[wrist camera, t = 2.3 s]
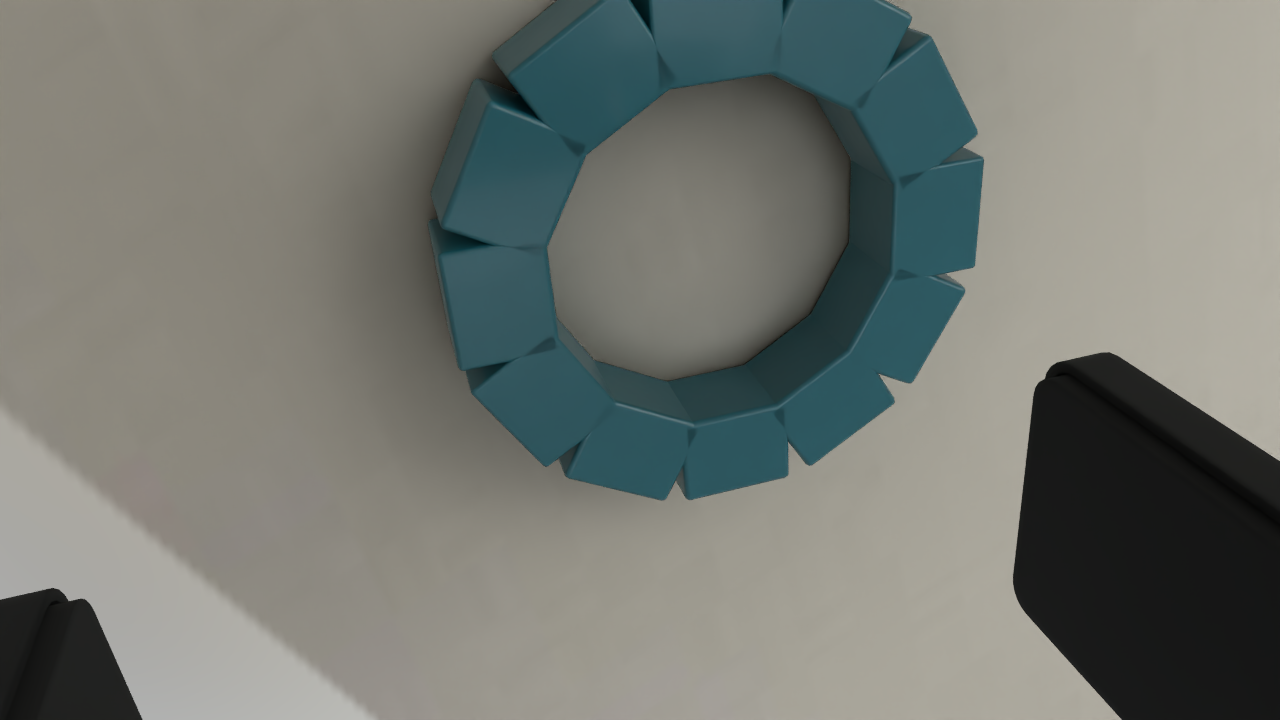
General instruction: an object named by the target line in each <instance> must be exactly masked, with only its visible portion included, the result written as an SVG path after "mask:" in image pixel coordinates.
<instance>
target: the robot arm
mask: <svg viewBox="0 0 1280 720" xmlns="http://www.w3.org/2000/svg"><path fill="white" fill-rule="evenodd" d="M1013 585H1014V590H1015V594H1016V597H1017V600H1018V602H1019V604H1020V605H1021V607H1022V609H1023V610H1024V611H1025V613H1026V614H1027V615H1028V616H1029V617H1030V619H1031V620H1032V621H1033V622H1034V623H1035V624H1036V625H1037V626H1038V627H1039V629H1040V630H1041V631H1042V632H1043V633H1044V634H1045V635H1046V636H1047V637H1048V638H1049V640H1050V641H1051V642H1052V643H1053V644H1054V645H1055V646H1056V647H1057V648H1058V650H1059V651H1060V652H1061V653H1062V654H1063V655H1064V656H1065V657H1066V658H1067V659H1068V661H1069V662H1070V663H1071V664H1072V665H1073V666H1074V667H1075V668H1076V669H1077V671H1078V672H1079V673H1080V674H1081V675H1082V676H1083V677H1084V678H1085V679H1086V681H1087V682H1088V683H1089V684H1090V685H1091V686H1092V687H1093V688H1094V689H1095V690H1096V692H1097V693H1098V694H1099V695H1100V696H1101V697H1102V698H1103V699H1104V700H1105V702H1106V703H1107V704H1108V705H1109V706H1110V707H1111V708H1112V709H1113V710H1114V711H1115V713H1116V714H1117V715H1118V716H1119V717H1120V718H1121V719H1122V720H1280V461H1279V460H1277V459H1276V458H1274V457H1272V456H1271V455H1269V454H1268V453H1266V452H1265V451H1263V450H1262V449H1260V448H1259V447H1257V446H1256V445H1254V444H1252V443H1251V442H1249V441H1248V440H1246V439H1245V438H1243V437H1242V436H1240V435H1239V434H1237V433H1236V432H1234V431H1232V430H1231V429H1229V428H1228V427H1226V426H1225V425H1223V424H1222V423H1220V422H1219V421H1217V420H1216V419H1214V418H1212V417H1211V416H1209V415H1208V414H1206V413H1205V412H1203V411H1202V410H1200V409H1199V408H1197V407H1196V406H1194V405H1192V404H1191V403H1189V402H1188V401H1186V400H1185V399H1183V398H1182V397H1180V396H1179V395H1177V394H1176V393H1174V392H1172V391H1171V390H1169V389H1168V388H1166V387H1165V386H1163V385H1162V384H1160V383H1159V382H1157V381H1156V380H1154V379H1152V378H1151V377H1149V376H1148V375H1146V374H1145V373H1143V372H1142V371H1140V370H1139V369H1137V368H1136V367H1134V366H1132V365H1131V364H1129V363H1128V362H1126V361H1125V360H1123V359H1122V358H1120V357H1119V356H1117V355H1114V354H1112V353H1110V352H1108V353H1098V354H1093V355H1089V356H1084V357H1080V358H1075V359H1071V360H1066V361H1062V362H1058V363H1056V364H1054V365H1052V366H1051V367H1050V369H1049V370H1048V372H1047V373H1046V377H1045V379H1044V380H1042V381H1040V382H1039V383H1038V385H1037V386H1036V388H1035V392H1034V396H1033V405H1032V414H1031V423H1030V432H1029V441H1028V449H1027V458H1026V467H1025V476H1024V485H1023V494H1022V503H1021V511H1020V520H1019V529H1018V538H1017V547H1016V556H1015V564H1014V573H1013ZM0 720H142V718H141V715H140V713H139V711H138V709H137V706H136V704H135V702H134V700H133V698H132V695H131V693H130V691H129V688H128V686H127V684H126V682H125V680H124V677H123V675H122V673H121V671H120V668H119V666H118V664H117V662H116V659H115V657H114V655H113V653H112V650H111V648H110V646H109V644H108V641H107V639H106V637H105V635H104V632H103V630H102V628H101V626H100V623H99V621H98V619H97V617H96V614H95V612H94V610H93V608H92V607H91V605H90V604H89V603H88V602H87V601H86V600H85V599H78V600H73V601H68V599H67V598H66V596H65V595H64V594H63V593H62V592H61V591H60V590H58V589H54V588H51V589H46V590H42V591H38V592H33V593H28V594H24V595H19V596H15V597H11V598H6V599H2V600H0Z"/></svg>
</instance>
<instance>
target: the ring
mask: <svg viewBox="0 0 1280 720" xmlns="http://www.w3.org/2000/svg"><path fill="white" fill-rule="evenodd" d="M911 19H912V17H911V16H910V14H909V13H908V12H906V11H904V10H902V9H901V8H899V7H897V6H895V5H893V4H891V3H889V2H887V1H885V0H557V1H556V2H555V3H553V4H552V5H551V6H550V7H549V8H547V9H546V10H545V11H544V12H542V13H541V14H540V15H539V16H537V17H536V18H535V19H534V20H532V21H531V22H530V23H529V24H527V25H526V26H525V27H524V28H523V29H521V30H520V31H519V32H518V33H516V34H515V35H514V36H513V37H511V38H510V39H509V40H508V41H506V42H505V43H504V44H503V45H501V46H500V47H499V48H498V49H497V50H495V51H494V53H493V54H492V57H493V60H494V61H495V63H496V64H497V65H498V67H499V68H500V69H501V71H502V72H503V73H504V75H505V76H506V77H507V79H508V80H509V81H510V83H511V84H512V85H513V86H514V88H515V89H516V90H517V92H518V93H519V94H520V95H519V94H517V93H514V92H512V91H509V90H507V89H504V88H502V87H499V86H497V85H494V84H492V83H489V82H487V81H485V80H482V79H475V80H474V81H473V82H472V84H471V87H470V89H469V92H468V95H467V97H466V100H465V103H464V105H463V108H462V110H461V113H460V116H459V118H458V121H457V124H456V126H455V129H454V132H453V134H452V137H451V140H450V142H449V145H448V147H447V150H446V153H445V155H444V158H443V161H442V163H441V166H440V169H439V171H438V174H437V177H436V179H435V182H434V185H433V187H432V190H431V197H432V200H433V203H434V207H435V210H436V213H437V217H438V218H436V219H432V220H430V221H429V222H428V228H429V234H430V239H431V244H432V249H433V254H434V259H435V264H436V269H437V275H438V280H439V285H440V290H441V295H442V300H443V305H444V310H445V316H446V321H447V326H448V330H449V334H450V338H451V342H452V346H453V350H454V353H455V357H456V361H457V365H458V368H459V369H460V370H462V371H466V375H467V379H468V382H469V386H470V390H471V393H472V395H473V396H474V397H475V398H476V399H477V400H478V401H479V402H480V403H481V404H482V405H483V406H484V407H485V408H486V409H487V410H488V411H489V412H490V413H491V414H492V415H493V416H494V417H495V418H496V419H497V420H498V421H499V422H500V423H501V424H502V425H503V426H504V427H505V428H506V429H507V430H508V431H509V432H510V433H511V434H512V435H513V436H514V437H515V438H516V439H517V440H518V441H519V442H520V443H521V444H522V445H523V446H524V447H525V448H526V449H527V450H528V451H529V452H530V453H531V454H532V455H533V456H534V457H535V458H536V459H537V460H538V461H539V462H540V463H541V464H542V465H543V466H545V467H547V466H549V465H550V464H552V463H553V462H554V461H556V460H557V459H558V458H559V461H560V464H561V466H562V469H563V472H564V474H565V476H566V477H568V478H569V479H574V480H578V481H582V482H586V483H590V484H595V485H599V486H603V487H607V488H611V489H616V490H620V491H624V492H628V493H632V494H636V495H641V496H645V497H649V498H653V499H657V500H665V499H666V498H667V496H668V494H669V492H670V490H671V488H672V486H673V484H674V482H675V480H676V481H677V483H678V485H679V487H680V488H681V490H682V492H683V494H684V496H685V497H686V499H688V500H693V499H697V498H701V497H705V496H709V495H714V494H718V493H722V492H726V491H730V490H734V489H739V488H743V487H747V486H751V485H755V484H760V483H764V482H768V481H772V480H776V479H780V478H785V477H786V476H788V442H789V443H790V444H791V446H792V447H793V448H794V449H795V451H796V452H797V453H798V455H799V456H800V457H801V458H802V460H803V461H804V462H805V464H807V465H809V466H810V465H813V464H814V463H816V462H817V461H818V460H820V459H821V458H822V457H824V456H825V455H826V454H828V453H829V452H830V451H832V450H833V449H834V448H835V447H837V446H838V445H839V444H841V443H842V442H843V441H845V440H846V439H847V438H849V437H850V436H851V435H853V434H854V433H855V432H857V431H858V430H859V429H861V428H862V427H863V426H865V425H866V424H867V423H869V422H870V421H871V420H873V419H874V418H875V417H877V416H878V415H879V414H881V413H882V412H883V411H885V410H886V409H887V408H889V407H890V406H891V405H893V404H894V402H895V401H894V397H893V396H892V394H891V392H890V391H889V389H888V388H887V386H886V385H885V383H884V382H883V380H882V379H881V377H880V376H879V374H881V375H884V376H887V377H890V378H893V379H896V380H899V381H902V382H905V383H912V382H913V381H914V379H915V378H916V376H917V374H918V372H919V371H920V369H921V367H922V366H923V364H924V362H925V360H926V359H927V357H928V355H929V354H930V352H931V350H932V348H933V347H934V345H935V343H936V342H937V340H938V338H939V336H940V335H941V333H942V331H943V330H944V328H945V326H946V324H947V323H948V321H949V319H950V318H951V316H952V314H953V312H954V311H955V309H956V307H957V306H958V304H959V302H960V300H961V299H962V297H963V295H964V294H965V288H964V287H963V286H962V285H961V284H959V283H958V282H956V281H955V280H954V279H952V278H951V277H949V276H948V275H947V274H945V273H949V272H954V271H959V270H964V269H969V268H973V267H974V266H975V259H976V247H977V235H978V223H979V211H980V200H981V188H982V176H983V164H984V159H983V157H982V156H980V155H978V154H976V153H974V152H972V151H970V150H968V149H966V148H964V147H963V146H964V145H965V144H967V143H968V142H969V141H971V140H972V139H973V138H975V137H976V135H977V134H978V132H977V129H976V126H975V124H974V122H973V120H972V118H971V116H970V114H969V112H968V110H967V108H966V106H965V104H964V102H963V100H962V98H961V96H960V94H959V92H958V90H957V88H956V86H955V84H954V82H953V80H952V78H951V76H950V74H949V72H948V69H947V67H946V65H945V63H944V61H943V59H942V57H941V55H940V53H939V51H938V49H937V47H936V45H935V43H934V41H933V39H932V37H931V36H929V35H928V34H925V33H922V32H919V31H916V30H913V29H910V28H908V26H909V25H910V23H911ZM766 74H770V75H773V76H775V77H777V78H779V79H781V80H783V81H785V82H788V83H790V84H792V85H794V86H796V87H798V88H801V89H803V90H805V91H807V92H809V93H811V94H813V95H814V96H815V98H816V100H817V101H818V103H819V105H820V107H821V108H822V110H823V112H824V113H825V115H826V117H827V118H828V120H829V122H830V124H831V125H832V127H833V129H834V130H835V132H836V134H837V136H838V137H839V139H840V141H841V142H842V144H843V146H844V148H845V149H846V151H847V153H848V154H849V156H850V158H851V182H850V235H849V243H848V245H847V247H846V249H845V251H844V253H843V255H842V257H841V258H840V260H839V262H838V264H837V266H836V268H835V270H834V272H833V273H832V275H831V277H830V279H829V281H828V283H827V285H826V287H825V289H824V290H823V292H822V294H821V296H820V298H819V300H818V302H817V304H816V305H815V307H814V309H813V311H812V313H811V314H810V315H809V316H808V317H806V318H805V319H804V320H803V321H801V322H800V323H799V324H797V325H796V326H795V327H793V328H792V329H791V330H789V331H788V332H787V333H785V334H784V335H783V336H782V337H780V338H779V339H778V340H776V341H775V342H774V343H772V344H771V345H770V346H768V347H767V348H766V349H765V350H763V351H762V352H761V353H759V354H758V355H757V356H755V357H754V358H753V359H751V360H750V361H749V362H747V363H746V364H745V365H742V366H737V367H733V368H728V369H723V370H718V371H714V372H709V373H704V374H700V375H695V376H690V377H686V378H681V379H676V380H672V381H663V380H660V379H656V378H653V377H650V376H646V375H643V374H639V373H636V372H633V371H629V370H626V369H622V368H619V367H616V366H612V365H609V364H606V363H602V362H599V361H595V360H593V358H592V357H591V356H590V355H589V354H588V353H587V352H586V351H585V349H584V348H583V347H582V346H581V345H580V344H579V343H578V341H577V340H576V339H575V338H574V337H573V336H572V335H571V333H570V332H569V331H568V330H567V329H566V328H565V327H564V325H563V324H562V323H561V322H560V321H559V320H558V319H557V317H556V311H555V304H554V297H553V289H552V282H551V275H550V267H549V260H548V253H547V246H548V244H549V242H550V239H551V237H552V235H553V232H554V230H555V227H556V225H557V223H558V220H559V218H560V216H561V213H562V211H563V209H564V206H565V204H566V202H567V199H568V197H569V195H570V192H571V190H572V188H573V185H574V183H575V181H576V178H577V176H578V174H579V171H580V169H581V167H582V164H583V162H584V159H585V157H586V155H587V154H588V153H589V152H591V151H592V150H593V149H595V148H596V147H597V146H598V145H600V144H601V143H602V142H603V141H605V140H606V139H607V138H608V137H610V136H611V135H612V134H613V133H615V132H616V131H617V130H619V129H620V128H621V127H622V126H624V125H625V124H626V123H627V122H629V121H630V120H631V119H632V118H634V117H635V116H636V115H637V114H639V113H640V112H641V111H643V110H644V109H645V108H646V107H648V106H649V105H650V104H651V103H653V102H654V101H655V100H656V99H658V98H659V97H660V96H661V95H663V94H664V93H665V92H666V91H668V90H669V89H675V88H682V87H688V86H695V85H701V84H708V83H714V82H721V81H727V80H734V79H740V78H747V77H753V76H760V75H766Z"/></svg>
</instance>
